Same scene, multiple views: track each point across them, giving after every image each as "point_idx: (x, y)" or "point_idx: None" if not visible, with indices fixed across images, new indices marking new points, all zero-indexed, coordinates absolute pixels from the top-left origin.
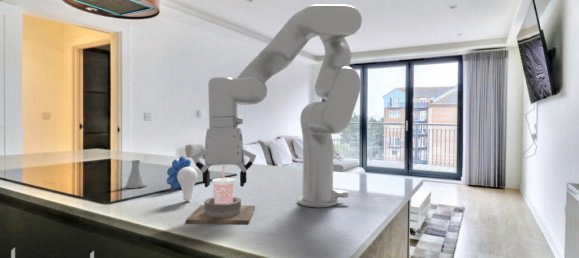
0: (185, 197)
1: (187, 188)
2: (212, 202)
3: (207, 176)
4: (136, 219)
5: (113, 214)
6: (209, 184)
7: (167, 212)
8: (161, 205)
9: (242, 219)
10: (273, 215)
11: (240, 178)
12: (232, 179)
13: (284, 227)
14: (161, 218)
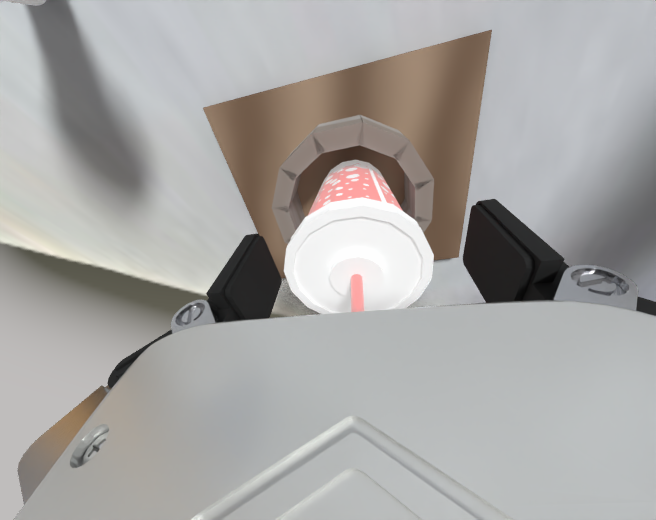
0: (20, 3)
1: None
2: (294, 188)
3: (264, 315)
4: (145, 268)
5: (46, 246)
6: (265, 244)
7: (151, 199)
8: (28, 111)
9: (437, 253)
10: (564, 148)
11: (485, 296)
12: (413, 247)
13: (564, 261)
14: (192, 252)
